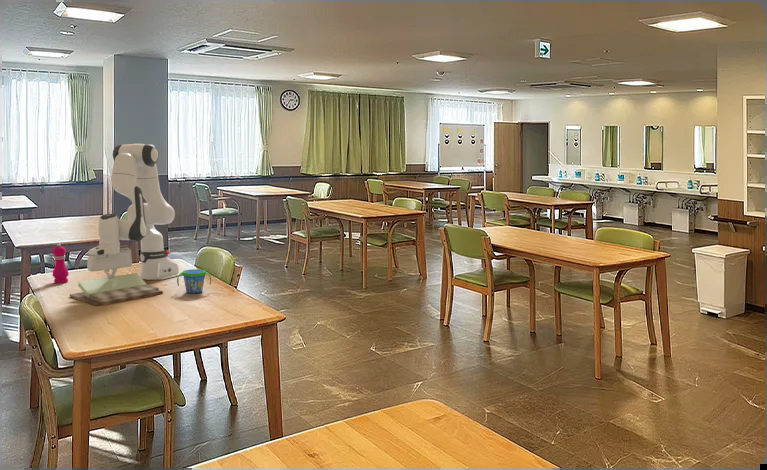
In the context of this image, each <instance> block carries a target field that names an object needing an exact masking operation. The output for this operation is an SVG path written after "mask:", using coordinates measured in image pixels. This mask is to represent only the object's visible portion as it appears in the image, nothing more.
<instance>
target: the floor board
mask: <svg viewBox="0 0 767 470" xmlns="http://www.w3.org/2000/svg"><path fill="white" fill-rule="evenodd" d="M162 294H164V293H163V290H160V288H159V287H157V286H154V285H150V284H147V285H142V286H136V287H130V288H124V289H118V290H113V291H107V292H101V293H95V294H89V298H88V297H87V296H86V295H85V293H84V292H83V291H81V292H76V293H70V294H69V297H70V298H71V297H72V298H71V299H74V298H75V300H77V299H78V300H77V301H80V300H81V301H80V302H83V303H85V304H89V305H92V306H95V307H99V306H104V305H109V304H115V303H120V302H126V301H130V300H136V299H142V298H146V297H153V296H158V295H162Z"/></svg>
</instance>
